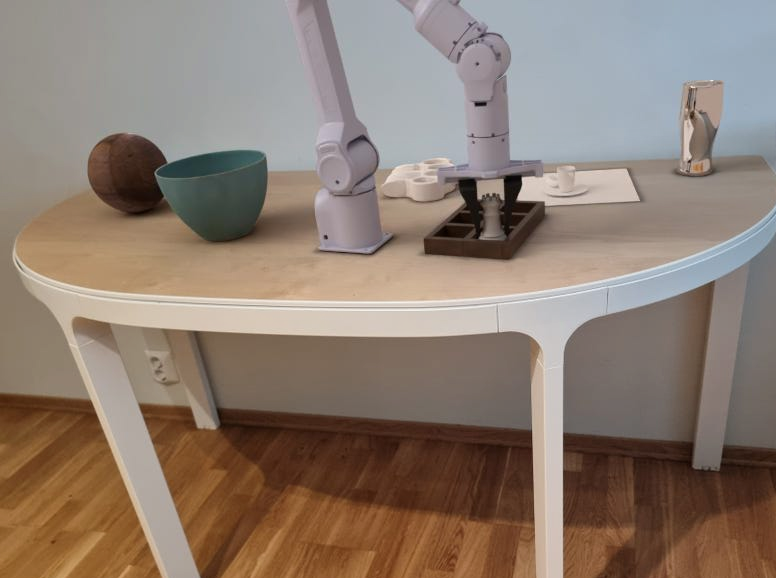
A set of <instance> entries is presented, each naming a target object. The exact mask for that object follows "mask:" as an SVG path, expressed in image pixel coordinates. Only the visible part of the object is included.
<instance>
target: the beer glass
mask: <svg viewBox="0 0 776 578" xmlns="http://www.w3.org/2000/svg"><path fill="white" fill-rule="evenodd" d="M724 84H725V83H724V81H722V80H717V79H700V80H691V81H686V82H684V83H682V84H681V85H682V86H681V92H680V99H679V105H678V106H679V107H678V132H679V140H680V153H679V155H680V156H679V160H678V164H677V168H676V174H679V175H681V176H686V177H701V176H707V175H711V174H712V173H713V171H714V167H713V150H714V146H715V141H716V137H717V134H718V130H719V128H720V123H721V119H722V113H723V105H724Z"/></svg>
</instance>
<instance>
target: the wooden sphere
mask: <svg viewBox="0 0 776 578" xmlns="http://www.w3.org/2000/svg"><path fill="white" fill-rule="evenodd" d="M168 163H169V162H168V160H167V158H166V156H165V155H164V153H163V152H162V150H161V149H160V148H159V146H157V144H155V143H154V142H152V141H151V140H150V139H148V138H146V137H144V136H142V135H140V134H137V133H131V132H118V133H117V132H116V133H114V134H110V135H108V136H106V137H104V138H102V139H100V140H99V141H98V142H97V143H96V145H94V147H93V148H92V149H91V151H90V153H89V156H88V159H87V165H86V172H87V179H88V182H89V185H90V187H91V188H92V190H93V192H94V193H95V195H96V196H97V197H98V198H99V199H100V200H101V201H102V202H103V203H105V204H106V205H108V206H109V207H110V208H112V209H115V210H117V211H120V212H124V213H140V212H145V211H148V210H150V209H152V208H154V207H155V206H157V205H158V204H159V203H160V202H161V201H162V200H163V199H164V198H165V197H164V195H163V193H162V191H161V189H160V187H159V185H158V182H157V180H156V177H155V171H156V170H157V169H158V168H160V167H161V166H163V165H165V164H168Z"/></svg>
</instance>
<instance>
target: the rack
mask: <svg viewBox="0 0 776 578" xmlns="http://www.w3.org/2000/svg"><path fill="white" fill-rule="evenodd" d="M481 200H482V198H478V209H479V216H480V227H481V232H482V230H483V221H484V219H483V215H482V212H483V207H482V206H481V205H480V201H481ZM501 200H502V201H503V202H502V204H501V205H500V210H501V214H500V220H501V225H502V229H503V231H504V199H501ZM545 216H546V206H545V201H519V200H518V199H516V202H515V205H514V208H513V211H512V215H511V220H510V227H509V231H504V234H505V235H506V236H507V238H506V239H505V240H504V241H501V240H484V239H479V237H480V236H481V233H476V231H475V225H474V222H473V219H472V216H471V213H470V211H469V209H468V206H467V204H466V203H465V202H464V203H463V204H461V205H460V206H459V207H458V208H457V209H455V211H453V212H452V213H451V214H450V215H448V216H447V217H446V218H445V219H444V220H443V221H442V222H441V223H440V224H438V225H437V226H436V227H435V228H433V229H432V231H430V232H429V233H428V234H427V235H425V236H424V237H423V246H424V248H423V249H424V254H426V255H438V256H439V255H441V256H453V257H454V256H456V257H467V258H468V257H469V258H482V259H495V260H497V259H498V260H510V259H511V257H513V255H514V254H515V253H516V252H517V250H518V249H519V248H520V247H521V245H522V244H524V242H525V241H526V239H527V238H528V237H529V236H530V235H531V234H532V232H533V231H534V230H535V229H536V227H537V226H538V225H539V223H540V222H541V221H542V220H543V219H544V218H545Z"/></svg>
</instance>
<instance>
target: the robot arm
mask: <svg viewBox="0 0 776 578" xmlns="http://www.w3.org/2000/svg"><path fill="white" fill-rule="evenodd" d="M395 1H396V2H398V3H399V4H400V5H402V7H404V8H405V9H406V10H407V11H409V12H410V13H411V14H412V16H413V24H414V29H415V31H416V32H417V33H418V34H420V36H421V37H422V38H424V40H426V41H427V42H428V43H429V44H430V45H431V46H433V47H434V48H435V49H436V50H437V51H438V52H439V53H440V54H441V55H442V56H444V57H445V58H446V59H447V60H448V61H449V62H450V63H452V64H455V71H456V74H457V77H458V79H459V80H460V81H461V82H462V83H463V88H464V110H465V111H464V113H465V126H466V146H467V161H468V163H464V164H458V165H455V166H451V167H444V168H438V169H437V180H438V185H445V184H446V183H456V182H459V183H458V191H459V194H460V196H461V198H462V199H463V201H464V203H466V204H467V206H468V209H469V211H470V213H471V216H472V219H473V222H474V225H475V231H476V233H481V227H480V216H479V209H478V199H479V198H478V197H479V196H478V182H479V181H480V182H481V181H494V180H503V200H504V231H509V227H510V220H511V215H512V211H513V208H514V205H515V202H516V200H518V195H519V193H520V191H521V188H522V177H533V176H535V177H536V178H538V177H543V173H544V162H543V160H542V159H526V160H525V159H511V147H510V117H509V116H510V115H509V95H508V81H507V75H506V74H505V73H507V71H508V70H509V67H510V65H511V61H512V52H511V48H510V45H509V43H508V42H507V41H506V39H504V36H503V35H502V34H501V33H499V32H495V31H487V30H488V29H489V25H487V24H486V22H484V21H481V22H479V21H478V20H476V19H475V18H474V17H473V16H472V15H471V14H470V13H469V12H468V11H466V10H465V9H464V8H463V7H462V6H461V5H460V3H461V0H395ZM284 2H285V5H286V9H287V12H288V17H289V19H290V23H291V27H292V29H293V35H294V37H295V41H296V45H297V48H298V52H299V55H300V58H301V62H302V66H303V70H304V73H305V77H306V81H307V83H308V87H309V91H310V95H311V98H312V101H313V105H314V106H313V107H314V110H315V112H316V117H317V120H318V124H319V131H318V135H317V138H316V141H315V146H314V147H315V151H316V155H317V162H316V176H317V178H318V181H319V182H320V184H321V185H322V186H323V188H321V189H319V191H318V192H317V194H316V196H315V199H314V214H315V220H316V221H315V222H316V226H317V233H318V239H319V243H320V245H319V246H318V248H317V249H318V251H326V252H341V253H351V254H353V253H354V254H367V255H368V254H372V253H374V252H376V250H378V249H379V248H380V247H381V246H383V245H384V244H385V243H386V242H388V241H389V240H390V239H392V238H393V237H394V233H392V232H383V229H382V222H381V214H380V207H379V199H378V191H377V184H376V178H375V173H376V172H377V171H378V169H379V166H380V160H381V158H380V152H379V150H378V148H377V146H376V144H374V142H373V141H372V139H371V137H370V135H369V131H368V128H367V126H366V125H365V124H364V123H363V122H362V121H361V120H360V119H359V118H358V117H357V115H356V110H355V107H354V106H355V105H354V103H353V99H352V95H351V90H350V87H349V84H348V83H349V82H348V79H347V75H346V72H345V66H344V64H343V60H342V56H341V51H340V48H339V44H338V41H337V36H336V32H335V28H334V24H333V21H332V16H331V12H330V9H329V5H328V0H284Z"/></svg>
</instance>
